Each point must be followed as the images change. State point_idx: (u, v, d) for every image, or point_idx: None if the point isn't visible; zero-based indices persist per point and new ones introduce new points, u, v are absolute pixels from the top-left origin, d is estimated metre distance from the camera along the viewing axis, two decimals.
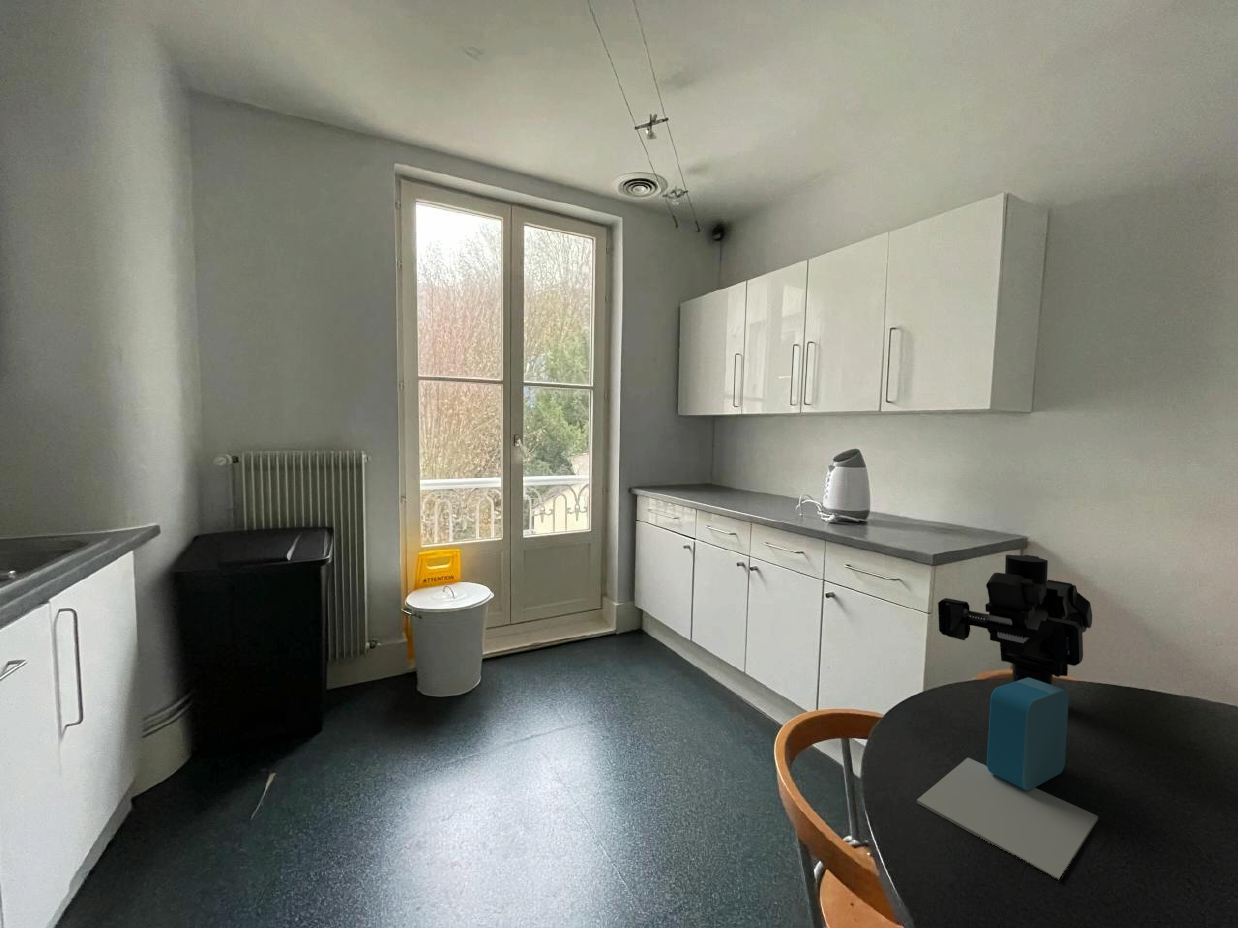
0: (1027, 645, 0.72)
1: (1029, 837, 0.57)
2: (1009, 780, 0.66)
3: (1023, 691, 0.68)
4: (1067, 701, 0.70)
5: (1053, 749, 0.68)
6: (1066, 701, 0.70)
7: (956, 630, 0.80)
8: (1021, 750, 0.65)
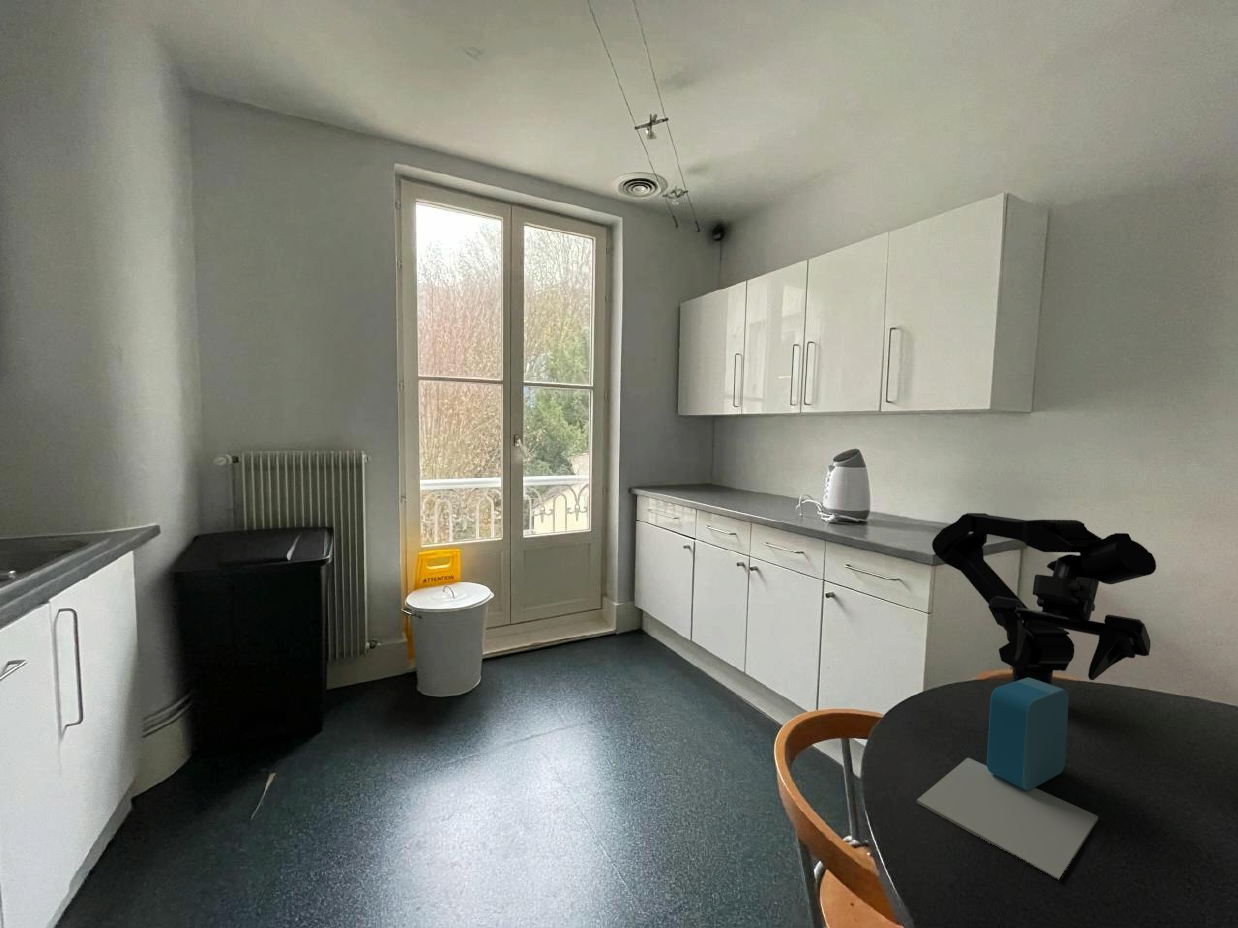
0: (1094, 671, 0.72)
1: (1029, 837, 0.57)
2: (1009, 780, 0.66)
3: (1023, 691, 0.68)
4: (1067, 701, 0.70)
5: (1053, 749, 0.68)
6: (1066, 701, 0.70)
7: (1017, 650, 0.80)
8: (1021, 750, 0.65)
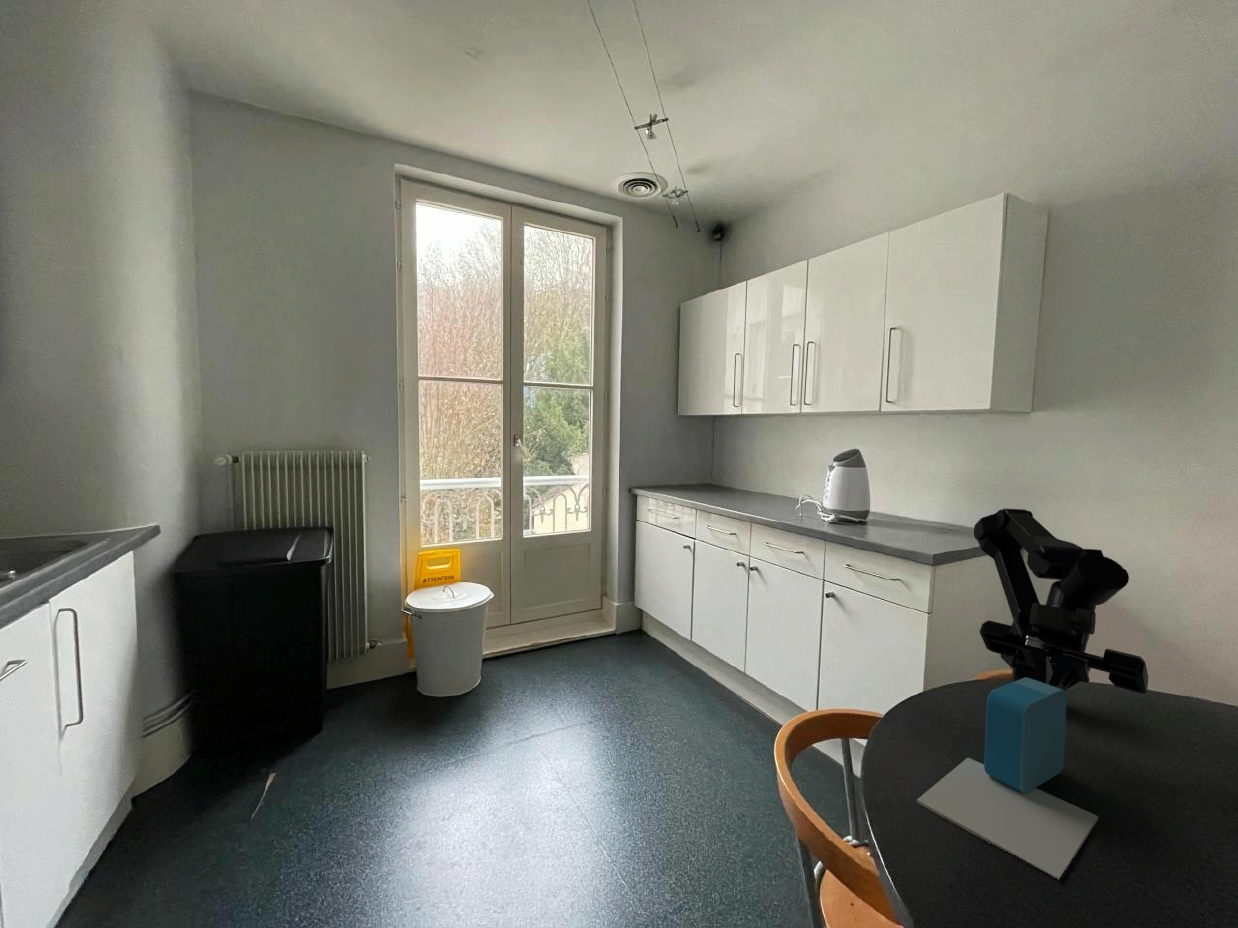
0: None
1: (1029, 837, 0.57)
2: (1006, 783, 0.66)
3: (1020, 694, 0.67)
4: (1065, 701, 0.69)
5: (1051, 750, 0.68)
6: (1064, 701, 0.69)
7: None
8: (1018, 753, 0.64)
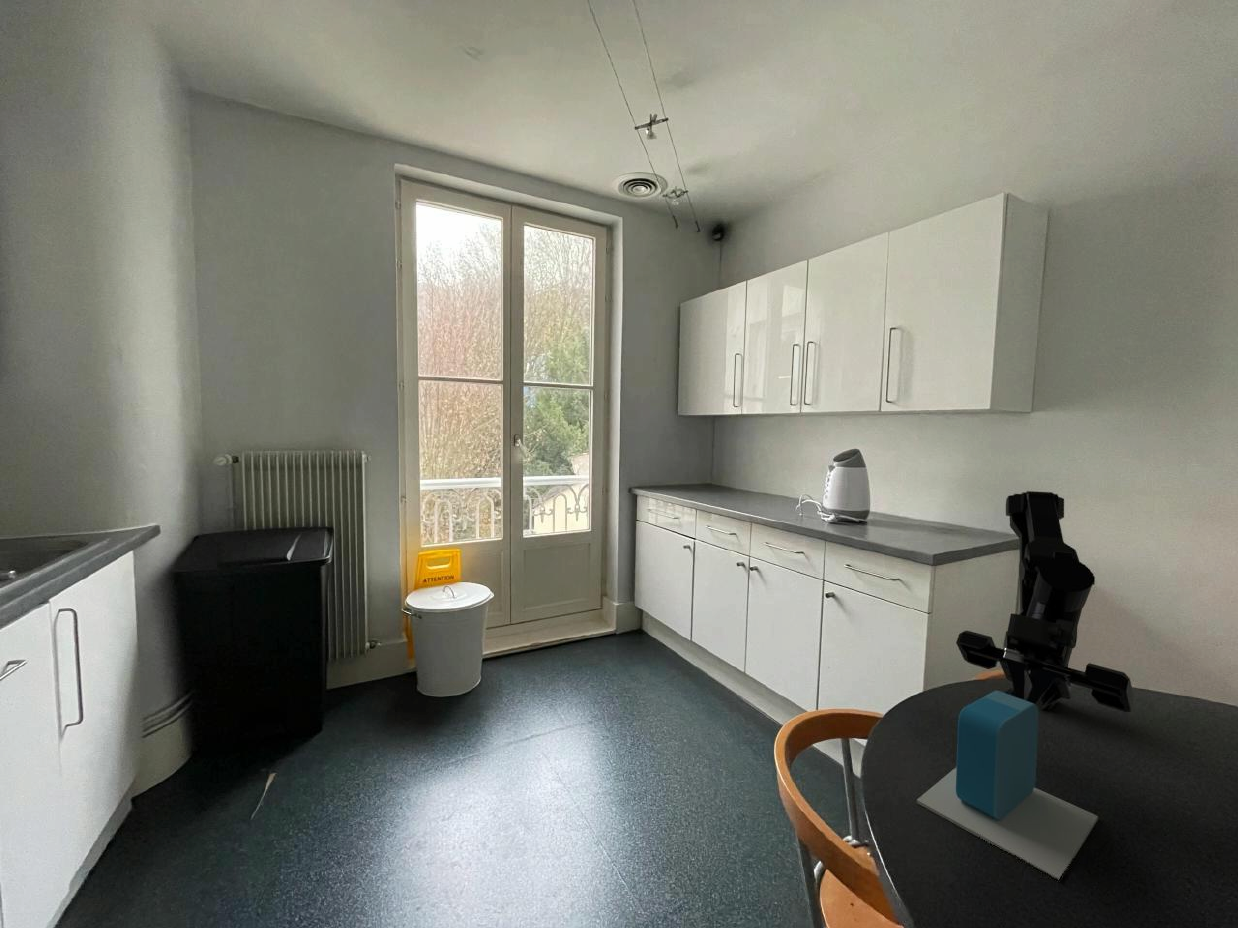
0: None
1: (1029, 837, 0.57)
2: (979, 808, 0.61)
3: (992, 711, 0.62)
4: (1037, 716, 0.65)
5: (1023, 769, 0.63)
6: (1036, 716, 0.65)
7: None
8: (992, 777, 0.60)
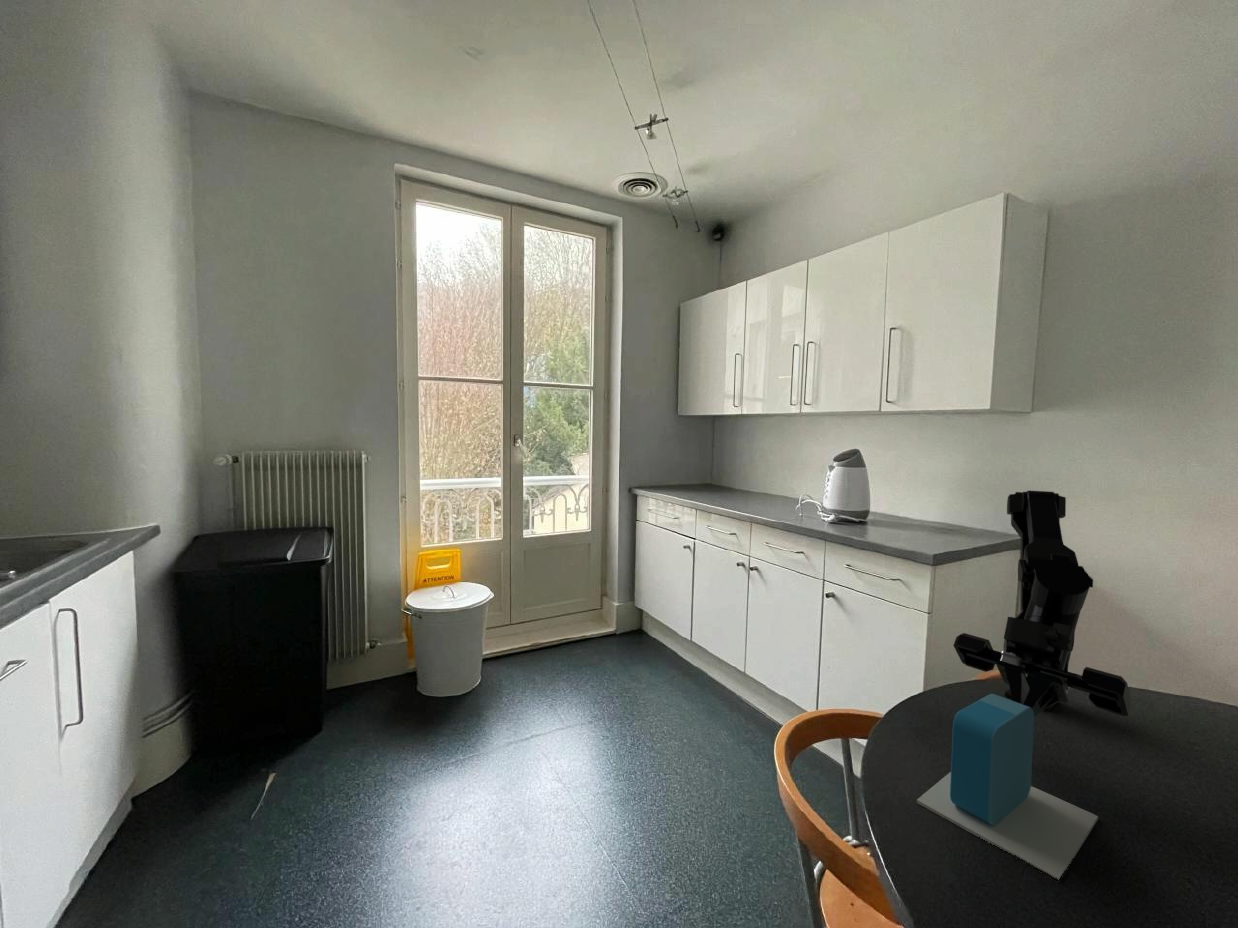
0: None
1: (1029, 837, 0.57)
2: (974, 814, 0.60)
3: (987, 715, 0.61)
4: (1032, 719, 0.64)
5: (1019, 774, 0.62)
6: (1031, 720, 0.64)
7: None
8: (986, 782, 0.59)
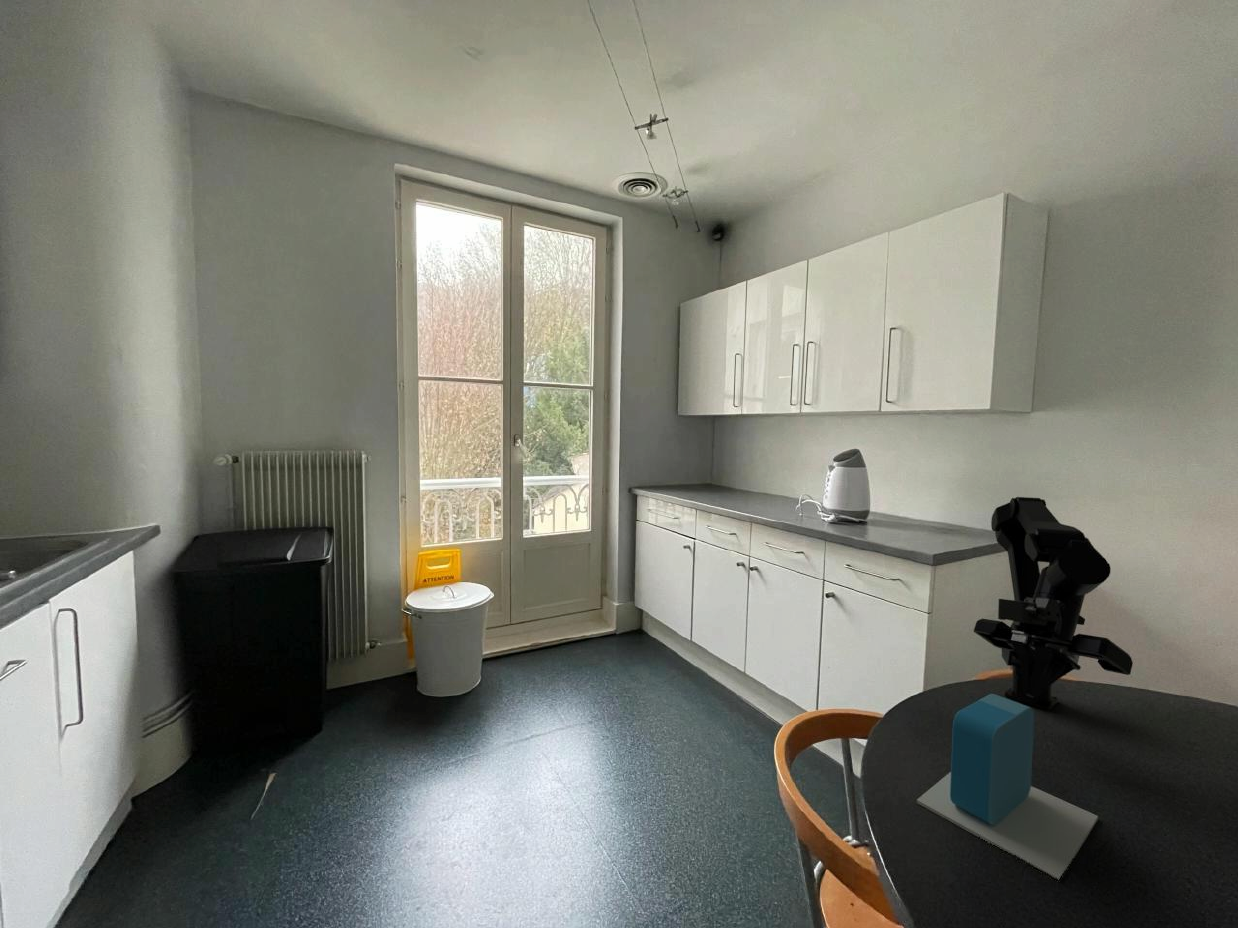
0: (1032, 689, 0.73)
1: (1029, 837, 0.57)
2: (974, 814, 0.60)
3: (987, 715, 0.61)
4: (1032, 719, 0.64)
5: (1019, 774, 0.62)
6: (1031, 720, 0.64)
7: None
8: (986, 782, 0.59)
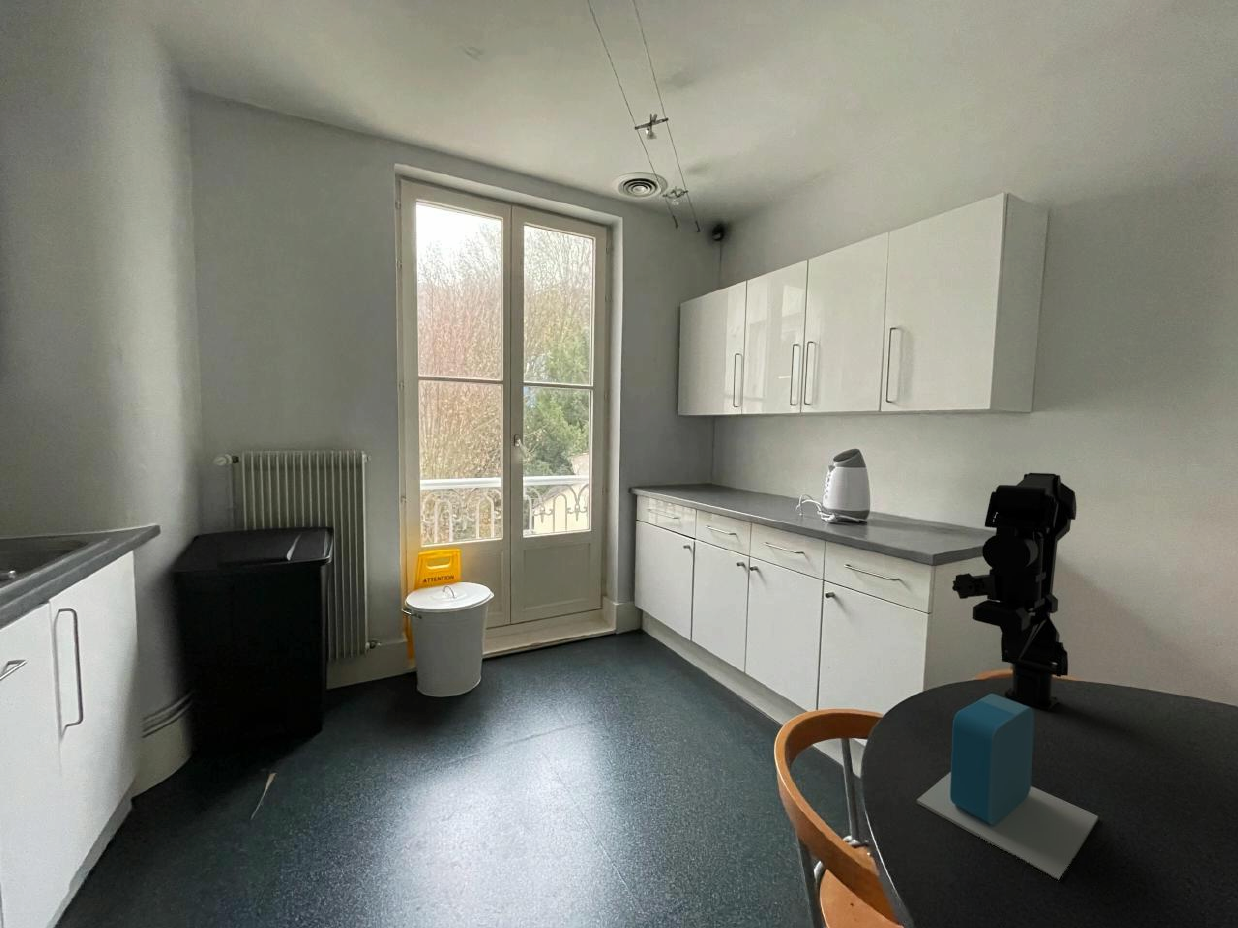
0: (1008, 653, 0.80)
1: (1029, 837, 0.57)
2: (974, 814, 0.60)
3: (987, 715, 0.61)
4: (1032, 719, 0.64)
5: (1019, 774, 0.62)
6: (1031, 720, 0.64)
7: None
8: (986, 782, 0.59)
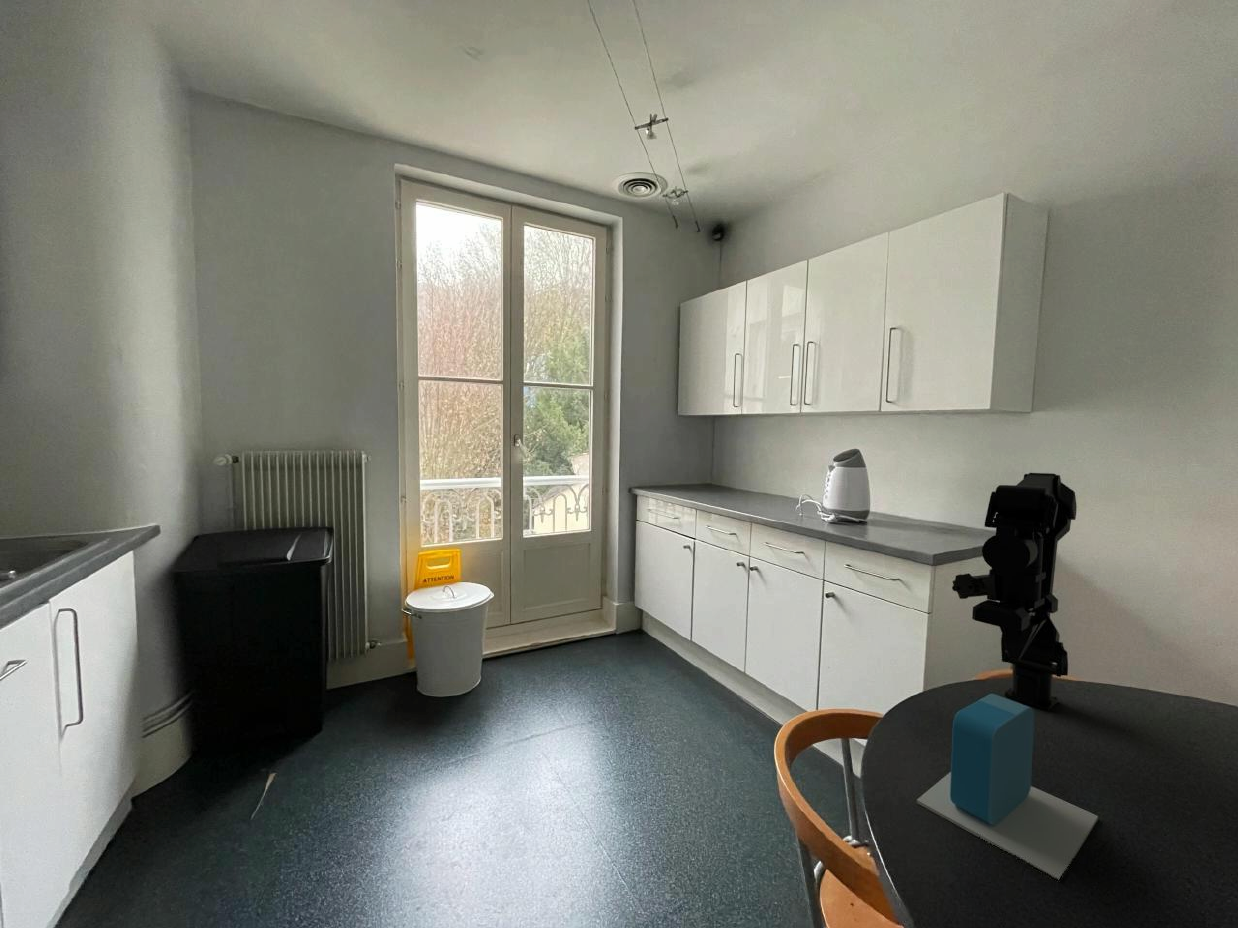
0: (1008, 653, 0.80)
1: (1029, 837, 0.57)
2: (974, 814, 0.60)
3: (987, 715, 0.61)
4: (1032, 719, 0.64)
5: (1019, 774, 0.62)
6: (1031, 720, 0.64)
7: None
8: (986, 782, 0.59)
